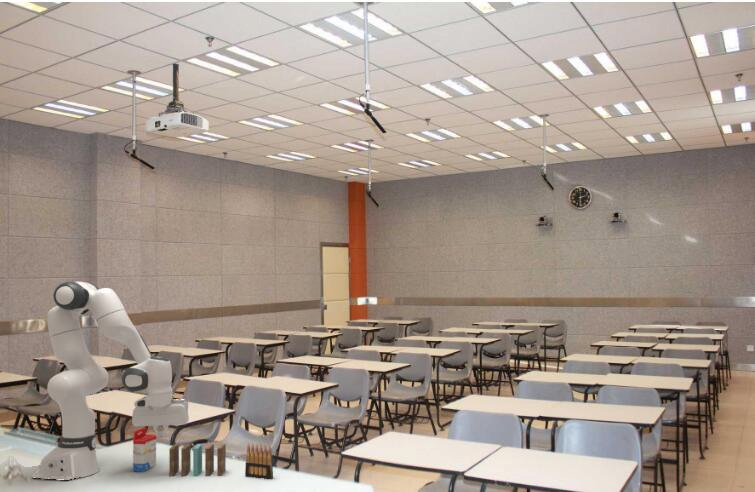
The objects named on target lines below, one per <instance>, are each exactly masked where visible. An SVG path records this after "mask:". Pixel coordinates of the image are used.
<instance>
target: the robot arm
mask: <svg viewBox="0 0 755 492" xmlns="http://www.w3.org/2000/svg"><path fill="white" fill-rule="evenodd" d="M53 301H54V303H55V305H56V306H53V307H52V308H51V309H50V310H49V311H48V312H47V316H46V318H47V319H46V321H47V328H48V334H49V339H50V343H51V346H52V350H53V353H54V357H55V358H56V359H57V360H58V361H60V362H62V363H63V364H64V366H66V368H67V370H63V371H61V372H59V373H57V374H55V375H54V376H52V377H51V378H50V379H49V381H48V383H47V387H46V388H47V394H48V395H49V397H50V398H51V399H52V400H53V401H55V403H56V404H57V405H58V407H59V410H60V413H61V423H62V424H61V425H62V428H61V429H62V432H61V433H62V434H61V436H58V437H57V438H56V439H55V442H54V443H55V444H56V443H57V444H56V445H57V446H55V448H53V449H52V450H51V451H49V452H48V453H47V454H46V455H45V456H43V458H42V459H41V461H40V464H39V469H38V470H36V471H35V472H34V473H33V474H32V477H35V478H46V479H48V478H49V479H64V480H69V481H71V480H70V479H72V480H75V479H74V478H76V479H80V478H79V477H81V478H85V477H88V476H92V475H94V474H97V473H98V472H99V471H100V467H99V463H98V459H97V452H96V449H97V432H96V413H95V411H94V410H93V408H91V407H89V405H88V402H87V399H86V398H87V396H91V395H94V394H97V393H98V392H100V391H102V390H103V389H105V388H106V387H107V385H108V383H109V373H108V371H107V369H106V368H105V367H103V366H101V365H100V364H98V363H97V361H96V360H95V358H94V357H93V355H91V353H90V351H89V349H88V347H87V344H86V340H85V337H84V334H83V330H82V327H81V323H80V315H85V314H86V313H88V312H91V314H92V315H93V319H94V320H95V323H96V325H97V326H98V329H99V331H100V333H101V334H102V335H103V336H104V337H105V338H107V339H110V340H113V341H116V342H118V343H121V344H123V345H124V346H126V347H127V349H128V350H129V351H130V354H131V355H132V356H133V359H134V360H135V363H136V365H133V366H130V367H129V368H126V370H125V371H124V372H122V373H123V374H122V376H121V384H122V386H123V387H124V389H125V390H126V391H128V392H131V393H137V392H141V391H147V393H146V394H147V396H143V397H141V398H139V399H137V400H136V401H134V404H133V406H134V407H135V408H134V409H133V410H132V416H131V417H132V418H131V424H132V426H134V427H152V429H153V431H154V432H155V435H156V439H159V438H164V439H165V437H166V436H167V435H166V434H167V430H168V429H169V426H179V425H181V426H183V425H184V426H185V425H187V423H188V422H189V419H190V417H189V402H188V401H187V400H186V399H184V398H178V399H177V398H175V399H174V398H173V388H172V381H173V370H172V369H173V368H172V363H171V361H170V359H169V358H168V357H167V356H163V355H153V354H152V353H151V350H150V348H149V347H148V345H147V343H146V342H145V340H144V338H143V336H142V335H141V333H140V331H139V330H138V329H137V327H136V326H135V324H133V322H132V321H131V319H130V317H129V315H128V313H127V311H126V309H125V307H124V305H123V303H122V301H121V299H120V298H119V296H118V295H117V293H116V292H115V291H114V289H112V288H111V287H110V288H109V287H103V288H99V287H98V286H97V285H95V284H93V283H91V282H85V281H71V280H70V281H65V282H63V283H60V284H58V286H57V287H56V288H55V289H54V292H53ZM160 426H162V429H163V431H160V430H159V427H160ZM166 438H167V437H166ZM32 477H31V478H32Z"/></svg>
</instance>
